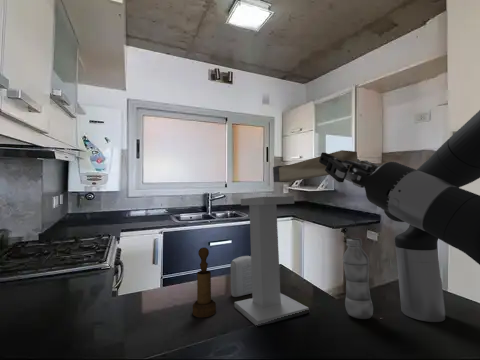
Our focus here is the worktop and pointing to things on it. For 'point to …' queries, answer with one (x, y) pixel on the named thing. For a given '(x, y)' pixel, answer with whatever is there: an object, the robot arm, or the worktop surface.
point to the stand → (266, 264)
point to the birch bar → (308, 168)
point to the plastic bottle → (357, 280)
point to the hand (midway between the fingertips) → (330, 157)
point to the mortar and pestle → (204, 289)
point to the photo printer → (241, 276)
